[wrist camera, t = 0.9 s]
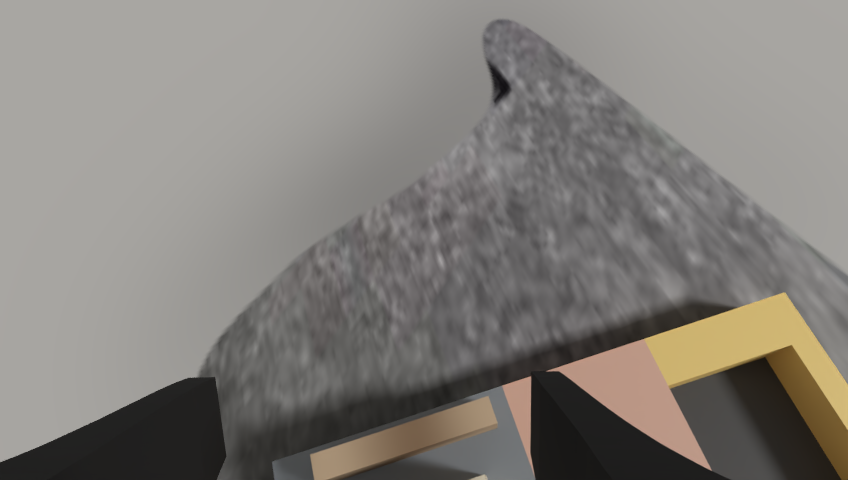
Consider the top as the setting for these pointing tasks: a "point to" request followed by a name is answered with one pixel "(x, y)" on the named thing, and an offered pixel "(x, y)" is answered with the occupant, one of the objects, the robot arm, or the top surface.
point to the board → (671, 405)
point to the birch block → (480, 478)
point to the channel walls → (404, 440)
